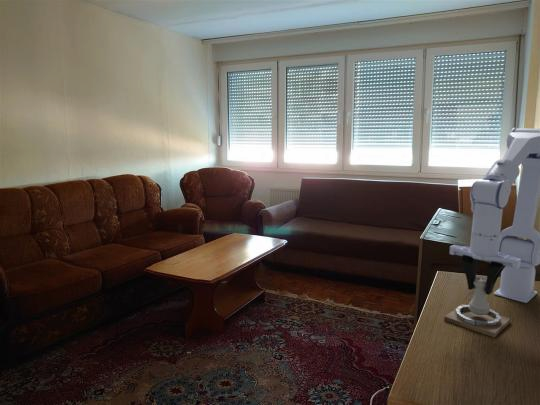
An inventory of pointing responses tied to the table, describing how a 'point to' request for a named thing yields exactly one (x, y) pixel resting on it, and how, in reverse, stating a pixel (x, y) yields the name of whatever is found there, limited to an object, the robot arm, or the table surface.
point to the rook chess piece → (479, 298)
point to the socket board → (478, 320)
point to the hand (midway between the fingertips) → (479, 290)
